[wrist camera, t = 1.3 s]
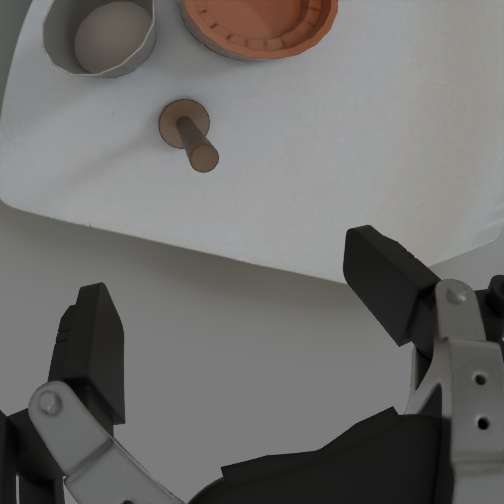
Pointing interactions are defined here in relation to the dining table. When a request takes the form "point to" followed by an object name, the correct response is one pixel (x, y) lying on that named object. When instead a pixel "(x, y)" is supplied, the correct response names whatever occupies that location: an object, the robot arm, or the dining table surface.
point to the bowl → (259, 26)
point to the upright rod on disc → (189, 132)
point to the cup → (99, 36)
